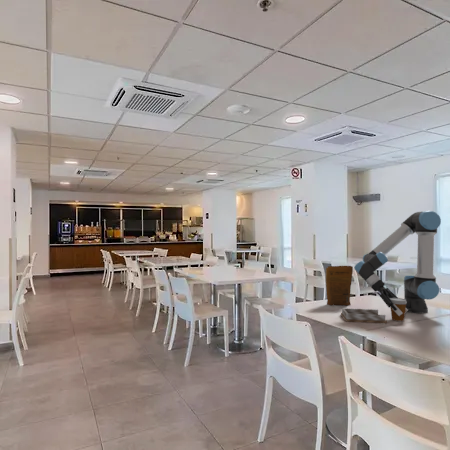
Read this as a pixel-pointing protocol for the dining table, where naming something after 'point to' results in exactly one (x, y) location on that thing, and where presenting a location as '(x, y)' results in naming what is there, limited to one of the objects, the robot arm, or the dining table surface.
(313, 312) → the dining table surface
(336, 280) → the pancake mix bag
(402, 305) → the disposable coffee cup
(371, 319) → the rail board
